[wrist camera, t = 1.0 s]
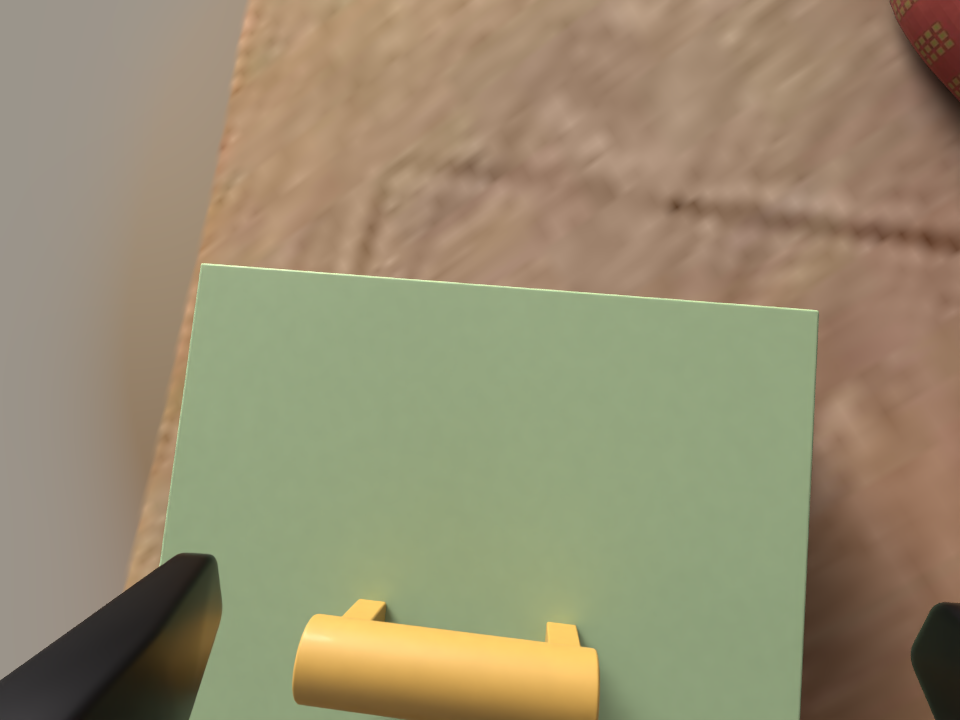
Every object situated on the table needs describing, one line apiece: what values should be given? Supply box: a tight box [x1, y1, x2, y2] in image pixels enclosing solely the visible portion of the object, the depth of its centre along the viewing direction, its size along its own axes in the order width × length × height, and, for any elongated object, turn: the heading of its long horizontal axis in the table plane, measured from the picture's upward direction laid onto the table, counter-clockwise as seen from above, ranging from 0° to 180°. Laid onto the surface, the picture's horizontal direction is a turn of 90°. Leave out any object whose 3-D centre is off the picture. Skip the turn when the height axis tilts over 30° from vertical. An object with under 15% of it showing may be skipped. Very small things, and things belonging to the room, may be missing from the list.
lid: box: [159, 263, 819, 720], centre depth 14 cm, size 12×15×4 cm
